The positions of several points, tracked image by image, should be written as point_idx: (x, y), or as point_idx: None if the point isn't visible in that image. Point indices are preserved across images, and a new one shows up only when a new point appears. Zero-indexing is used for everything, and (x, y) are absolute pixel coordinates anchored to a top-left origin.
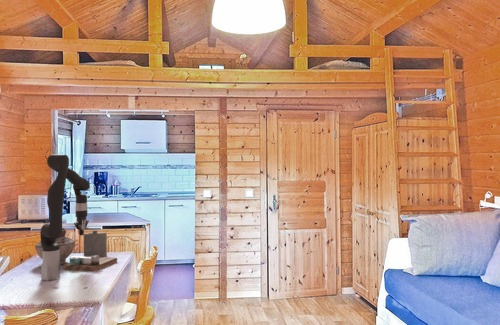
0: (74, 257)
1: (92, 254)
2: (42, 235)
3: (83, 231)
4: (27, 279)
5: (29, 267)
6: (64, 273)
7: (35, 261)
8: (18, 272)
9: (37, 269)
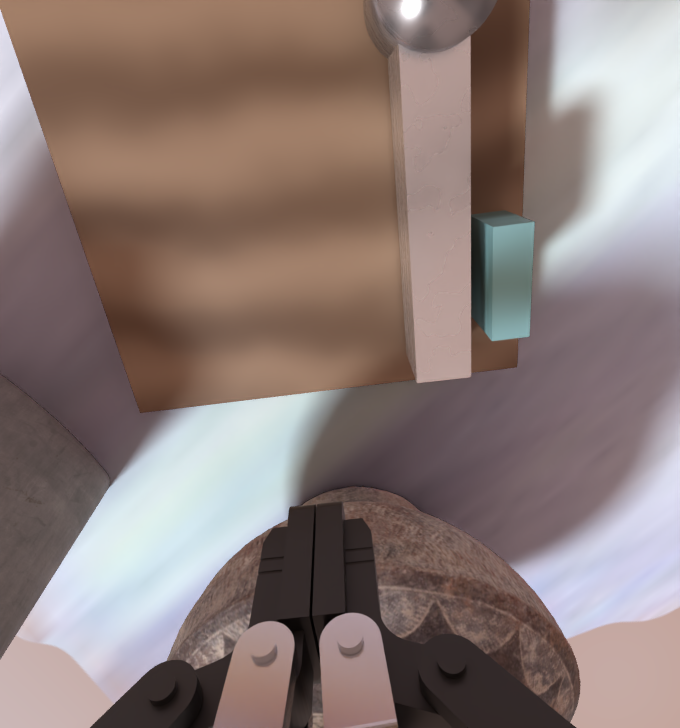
0: (470, 321)
1: (44, 443)
2: None
3: (288, 570)
4: None
5: None
6: (624, 232)
7: None
8: (629, 573)
9: (536, 529)
